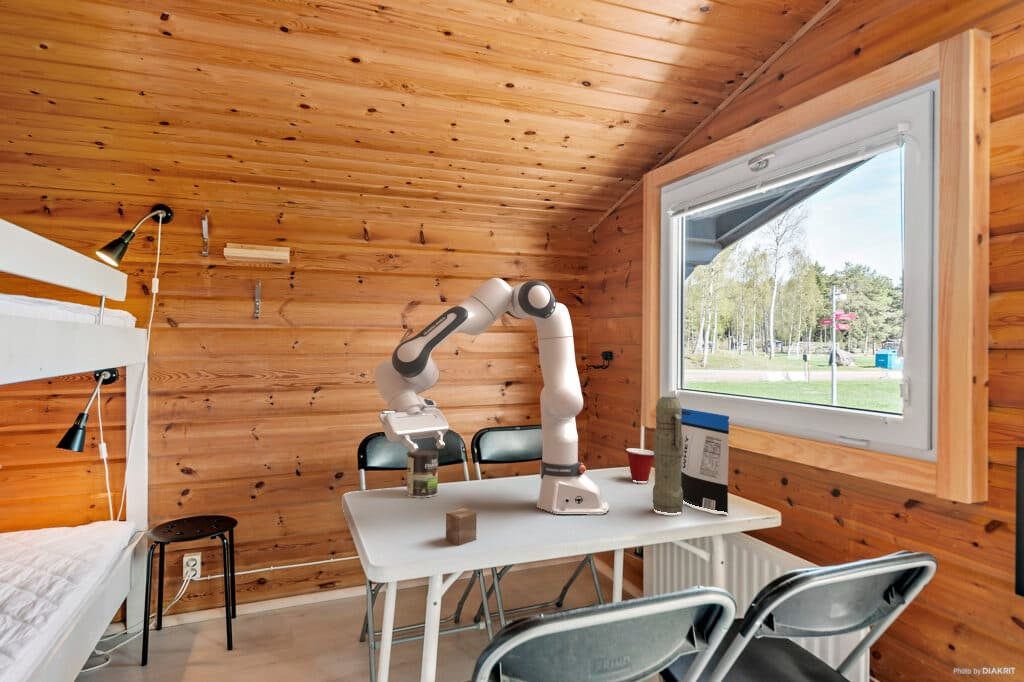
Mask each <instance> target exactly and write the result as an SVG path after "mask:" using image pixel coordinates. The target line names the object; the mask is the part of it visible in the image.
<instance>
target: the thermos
mask: <svg viewBox="0 0 1024 682" xmlns="http://www.w3.org/2000/svg"><path fill="white" fill-rule="evenodd" d="M657 400H658V401H656V402H657V403H656V404H655V405H656V406H655V424H656V426H655V431H654V433H653V434H654V435H653V452H654V485H653V487H652V505H653V507H654V509H655V510H657V511H661V512H667V513H677V512H681V511H682V512H683V505H684V504H683V490H682V487H681V458H682V456H683V436H682V432H681V429H682V419H681V413H682V408H683V407H682V404H681V401H680V399H679V398H677V396H676V397H675V396H661V397H659V398H658V399H657ZM653 507H652V508H653Z"/></svg>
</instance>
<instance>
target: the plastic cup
mask: <svg viewBox="0 0 1024 682" xmlns="http://www.w3.org/2000/svg"><path fill="white" fill-rule="evenodd" d="M626 453H627V459H628V463H629V470H630V471H629V472H630V475H631V476H630V477H631V481H632V480H636V481H647V480H648V481H649V478H650V474H651V469H652V463H653V460H654V459H655V455H654V450H649V449H643V448H634V447H633V448H631V447H630V448H626Z"/></svg>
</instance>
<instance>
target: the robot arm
mask: <svg viewBox="0 0 1024 682" xmlns="http://www.w3.org/2000/svg"><path fill="white" fill-rule="evenodd" d="M503 314H507V315H508V316H509V317H511V318H513V319H517V320H525V319H532V320H533V322H534V323H535V326H536V330H537V333H536V334H537V343H538V344H537V345H538V347H537V348H538V355H539V357H538V358H539V365H540V370H541V374H542V379H543V385H544V386H543V388H542V389H541V392H540V395H539V396H540V397H539V398H540V399H539V401H540V402H539V403H540V418H541V430H542V450H541V451H542V460H541V462H540V466H539V467H540V473H539V474H540V480H541V481H540V488H539V495H538V499H537V502H536V505H537V506H536V508H538V507H539V508H538V509H540V508H541V509H540V510H542V509H545V510H548V511H547V512H549V511H552V512H554V513H558V514H561V513H562V514H563V513H604V512H607V511H608V510H609V511H610V505H609V503H608V502H607V501H605V500H604V499H603V494H602V491H601V488H600V486H599V485H598V484H596V483H595V482H594V481H593V480H592V479H590V478H589V477H588V476H587V475H586V474H585V472H586V471H587V470H586V469H587V468H586V466H585V465H584V463H583V462H581V461H579V460H578V458H579V457H578V455H579V443H578V442H579V435H578V431H577V424H576V416H578V415H579V414H580V413H581V411H582V410H583V406H584V398H583V395H582V388H581V383H580V378H579V377H580V376H579V373H578V369H577V364H576V363H577V362H576V356H575V344H574V336H573V335H574V334H573V327H572V326H573V325H572V322H571V317H570V314H569V310H568V308H567V307H566V305H565V304H563V303H560V302H557V300H556V298H555V296H554V294H553V292H552V290H551V288H550V287H549V285H548V284H546V283H545V282H543V281H541V280H535V279H532V280H531V279H530V280H528V281H523V282H520V283H519V284H516V285H514V286H510V285H509V284H508V283H507V282H506V281H505V280H503V279H502V278H499V277H492V278H489V279H488V280H487V281H485V282H484V283H483V284H481V285H480V286H479V287H477V288H476V289H474V290H473V292H472V293H471V294H470V295H468V296H467V297H466V298H465V299H464V300H463V301H461V303H459V304H458V305H456V306H453V307H451V308H449V309H447V310H446V311H445V312H443V313H442V314H441V315H439V316H438V317H437V318H436V319H435V320H433V321H432V322H431V323H429V324H428V325H427V326H425V328H423V329H421V330H420V331H419V332H418V333H417V334H415V335H414V336H412V337H410V338H408V339H406V340H404V341H402V342H401V343H400V344H398V345H397V346H396V348H394V350H393V352H392V356H391V359H387V360H383V361H382V362H381V363H380V364H378V365H377V366H376V367H375V369H374V373H373V380H374V382H375V386H376V388H377V390H378V394H380V396H381V398H382V399H383V400H384V402H385V403H386V407H387V409H388V410H382V411H381V412H380V413H379V414H378V419H379V421H380V422H381V426H382V430H383V432H384V434H385V437H386V438H387V440H388V441H389V442H392V443H395V442H401V443H402V445H404V446H405V447H406V448H408V449H409V451H411V452H412V453H413V452H417V450H420V449H419V446H418V444H417V443H416V442H413V441H412V440H419V439H427V438H434V439H435V440H436V443H435V446H436V447H437V449H444V447H445V446H446V443H445V441H444V435H445V434H447V432H448V431H449V429H450V424H449V422H448V421H447V419H446V417H445V415H444V414H443V412H442V411H441V410H440V409H438V408H437V402H436V401H435V400H433V399H428V398H425V397H422V396H420V395H419V394H421V393H423V392H425V391H428V390H430V389H431V388H433V387H434V386H435V385H436V384H437V383H438V382H439V379H440V375H441V374H440V368H439V366H438V365H437V363H436V361H435V360H434V359H433V358H432V353H433V351H434V350H435V349H437V348H438V347H439V346H440V345H441V344H443V343H444V342H445V341H446V340H447V339H448V338H449V337H451V336H452V335H454V334H456V333H463V334H466V335H467V336H480V335H481V334H483V333H485V332H486V331H487V330H489V329H490V328H491V327H492V326H493V324H494V323H496V321H498V320H499V318H500V317H501V316H502V315H503ZM545 510H544V511H545ZM552 512H551V513H552ZM554 513H553V514H554Z"/></svg>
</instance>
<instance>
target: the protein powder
mask: <svg viewBox="0 0 1024 682" xmlns="http://www.w3.org/2000/svg"><path fill="white" fill-rule="evenodd" d="M681 408H682V413H681V419H682V429H681V432H682V436H683V456H682V458H681V487H682V490H683V500H684V501H685V502H687V503H689V504H692V505H695V506H699V507H703V508H707V509H711V510H717V511H724V512H727V513H728V514H729V506H728V505H729V501H728V500H729V498H728V497H729V494H728V493H729V491H728V490H729V489H728V488H729V454H730V453H729V451H730V450H729V449H730V448H729V447H730V446H729V445H730V444H729V443H730V439H729V437H730V436H729V435H730V433H729V432H730V430H729V429H730V427H729V426H730V421H729V420H730V415H724V414H719V413H718V414H717V413H712V412H706V411H701V410H695V409H694V410H693V409H687V408H683V407H681Z"/></svg>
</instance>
